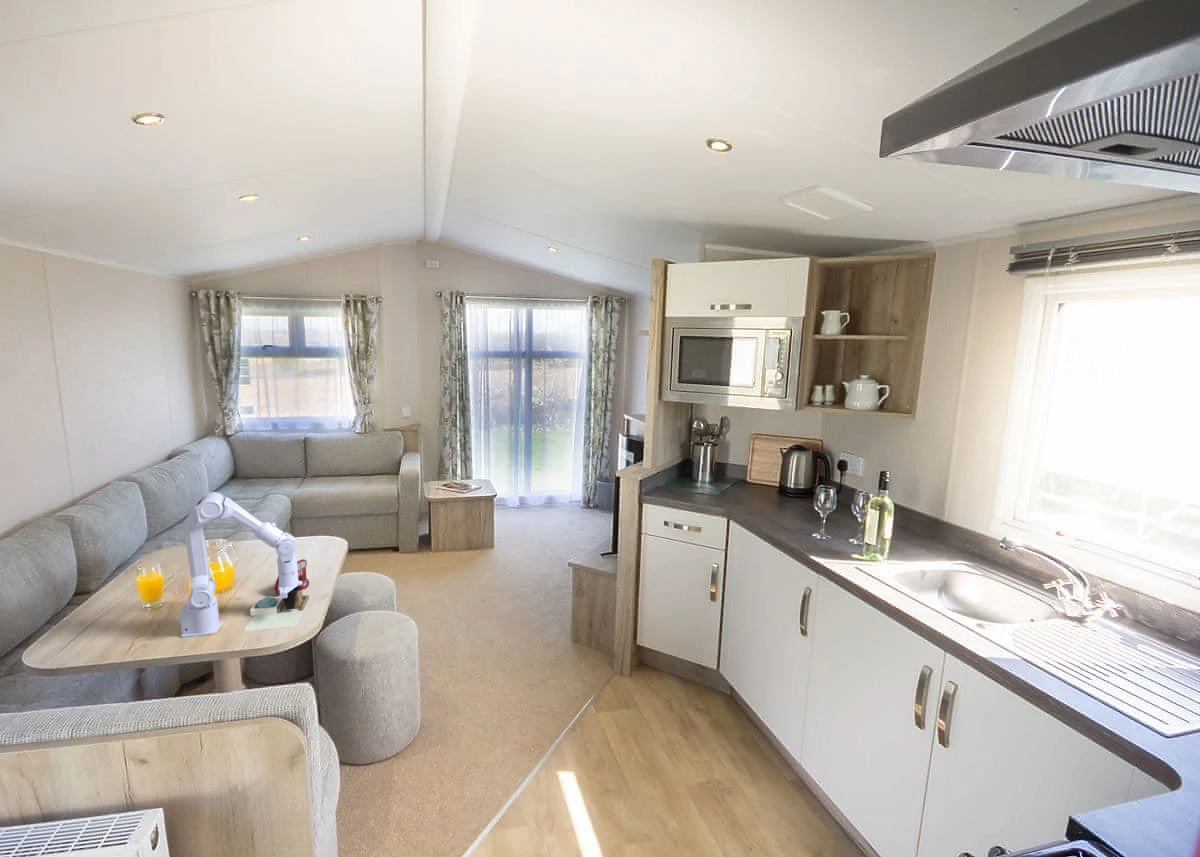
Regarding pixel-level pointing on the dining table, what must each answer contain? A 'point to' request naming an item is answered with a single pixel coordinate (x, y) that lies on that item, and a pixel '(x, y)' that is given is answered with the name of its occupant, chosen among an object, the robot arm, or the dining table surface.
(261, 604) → the dome
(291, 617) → the pale green flat board
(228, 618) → the dining table surface
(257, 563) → the dining table surface
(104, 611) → the dining table surface
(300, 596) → the die
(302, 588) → the toy fire truck
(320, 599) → the dining table surface
